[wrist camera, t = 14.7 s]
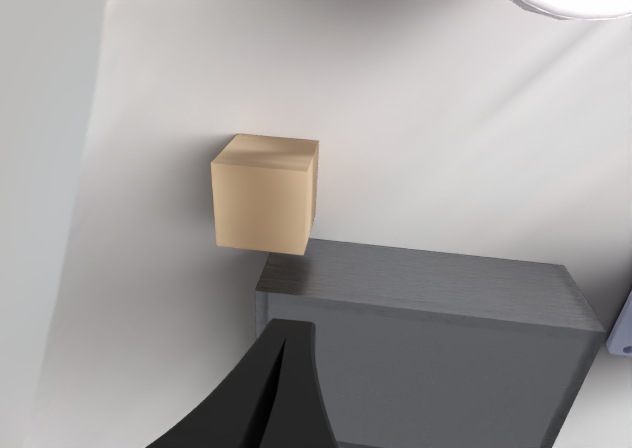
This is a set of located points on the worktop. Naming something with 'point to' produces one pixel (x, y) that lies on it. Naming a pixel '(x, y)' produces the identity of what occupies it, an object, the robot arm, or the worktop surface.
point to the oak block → (265, 193)
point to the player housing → (436, 343)
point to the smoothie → (578, 8)
